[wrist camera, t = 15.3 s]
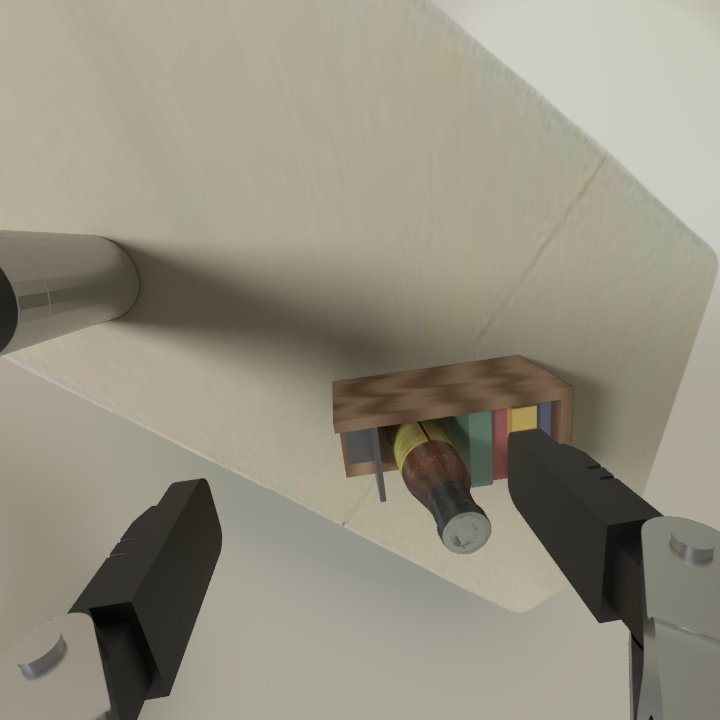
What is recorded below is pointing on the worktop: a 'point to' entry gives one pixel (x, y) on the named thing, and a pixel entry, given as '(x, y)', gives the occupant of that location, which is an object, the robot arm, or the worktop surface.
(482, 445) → the book row
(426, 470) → the sauce bottle
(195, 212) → the worktop surface
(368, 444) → the bookend
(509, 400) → the shelf
